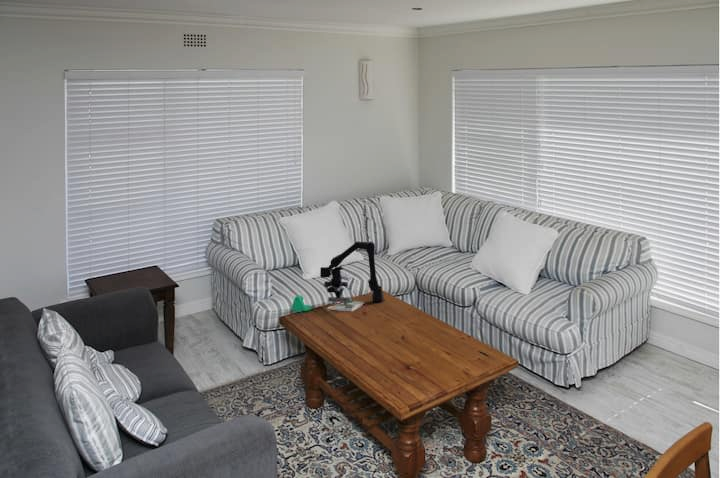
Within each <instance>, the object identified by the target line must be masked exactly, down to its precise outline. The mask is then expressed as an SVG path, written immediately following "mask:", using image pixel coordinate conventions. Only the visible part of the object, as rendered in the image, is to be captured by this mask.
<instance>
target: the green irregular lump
mask: <svg viewBox="0 0 720 478" xmlns="http://www.w3.org/2000/svg"><path fill="white" fill-rule="evenodd" d="M312 309H313V305H309V304H305V303H304V297H303V295H300V294H298V295H296V296H295V297H294V299H293V302H292V305H291V310H293V311H295V312H299V313H302V312H306V311H310V310H312Z"/></svg>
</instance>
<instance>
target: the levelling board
mask: <svg viewBox="0 0 720 478" xmlns="http://www.w3.org/2000/svg"><path fill="white" fill-rule="evenodd" d="M352 301H353V300H352ZM336 303H340V302H334V304H336ZM363 304H364V305H365V301H357V300H356V301H353V303H346V305H344V303H341V304H336V305H334V306H331V305H330V306H328V307H326V310H327V309H332V310H338V312H354V311H355V310H356V309H359V308H360V307H362V306H364V305H363Z"/></svg>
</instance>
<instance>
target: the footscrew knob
mask: <svg viewBox="0 0 720 478" xmlns="http://www.w3.org/2000/svg"><path fill="white" fill-rule="evenodd" d="M327 299H328V302H330V303H337V302H344V305H346V303H353V297H349V296H347V297H342V296H341V297H336V296H329V297H327Z"/></svg>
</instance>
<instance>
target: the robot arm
mask: <svg viewBox="0 0 720 478" xmlns="http://www.w3.org/2000/svg"><path fill="white" fill-rule="evenodd" d="M375 248H376V244H375V242H374V241H368V242H367V241H355V242H354V243H353V244H352V245H350V246H349V247H348V248H347V249H345V250H344V251H343V252H342V253H340V254H338V255H336V256H334V257H332V259H331V260H330V265H329V266H327V267H325V266H322V267H320V271H319V272H320V273H319V276H320V278H322V279H323V278H330V276H331V278H330V281H324V283H323V286H324V287H325V288H326V292H327V293H334V294H335V297H342V294H343V291H344V289H345V288H347V287H348V286H349V285H348V284H349V283H348V282H346V281H342V280H343V277H342V274H341V271H342V270H344V267H342V266H341V264H342V263H343V261H344V260H345V259H346V258H347V257H349V256H350V255H351V254H353V253H354V252H355V251H356V250H358V249H361V250H366V253H367V256H368V266H369V275H370V278H368V280H367V282H368V288H369V289H370V291H372V295H371V297H372V298H371V299H372V301H371V303H376V304H377V303H382V302H385V299H384V292H383V287H382V286H380V284H379V281H378V279H377V272H376V260H375ZM342 287H345V288H342Z"/></svg>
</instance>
